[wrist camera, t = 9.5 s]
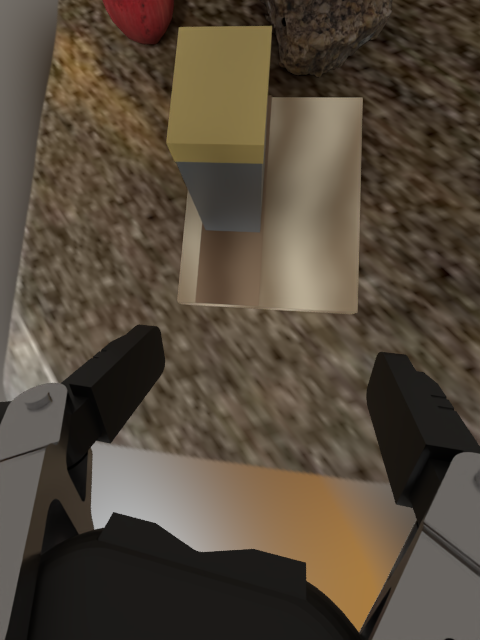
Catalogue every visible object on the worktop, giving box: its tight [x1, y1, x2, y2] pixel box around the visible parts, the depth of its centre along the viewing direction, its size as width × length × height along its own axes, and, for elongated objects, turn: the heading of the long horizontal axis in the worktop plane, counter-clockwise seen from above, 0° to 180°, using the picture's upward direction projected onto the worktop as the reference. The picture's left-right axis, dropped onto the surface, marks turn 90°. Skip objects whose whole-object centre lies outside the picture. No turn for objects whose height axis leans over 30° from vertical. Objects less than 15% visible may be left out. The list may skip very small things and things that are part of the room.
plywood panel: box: [177, 95, 363, 314], centre depth 22 cm, size 14×18×1 cm
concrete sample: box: [260, 0, 392, 77], centre depth 22 cm, size 12×10×5 cm
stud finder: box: [166, 26, 272, 232], centre depth 17 cm, size 4×6×9 cm
